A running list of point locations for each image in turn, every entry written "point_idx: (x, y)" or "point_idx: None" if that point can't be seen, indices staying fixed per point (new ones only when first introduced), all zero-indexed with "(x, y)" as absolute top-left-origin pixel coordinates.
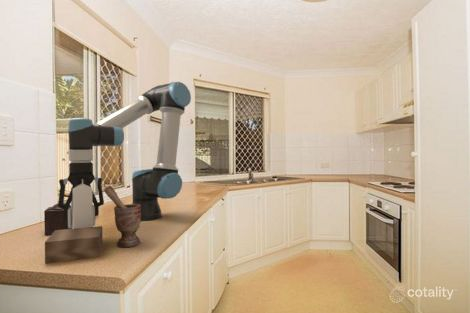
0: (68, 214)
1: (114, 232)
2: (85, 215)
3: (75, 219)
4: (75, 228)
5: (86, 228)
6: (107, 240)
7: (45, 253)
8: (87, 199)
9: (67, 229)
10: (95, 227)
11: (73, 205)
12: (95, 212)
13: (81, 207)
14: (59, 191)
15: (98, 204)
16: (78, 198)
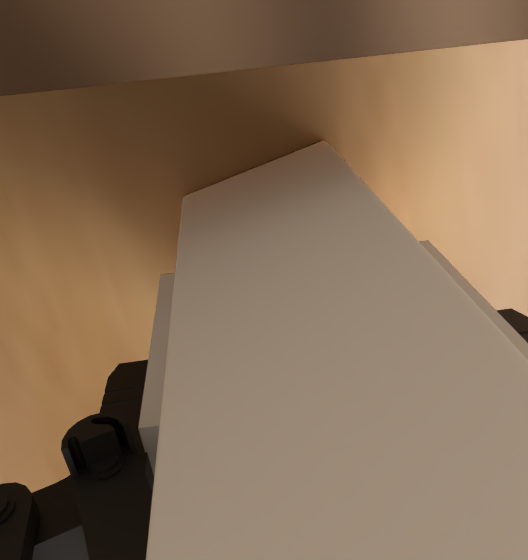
0: (498, 325)
1: (68, 398)
2: (262, 294)
3: (380, 225)
4: (348, 184)
5: (186, 5)
6: (46, 172)
7: None
8: (255, 521)
9: (429, 30)
10: (70, 34)
11: (511, 353)
12: (142, 392)
13: (345, 352)
14: None
15: (72, 504)
16: (488, 495)
